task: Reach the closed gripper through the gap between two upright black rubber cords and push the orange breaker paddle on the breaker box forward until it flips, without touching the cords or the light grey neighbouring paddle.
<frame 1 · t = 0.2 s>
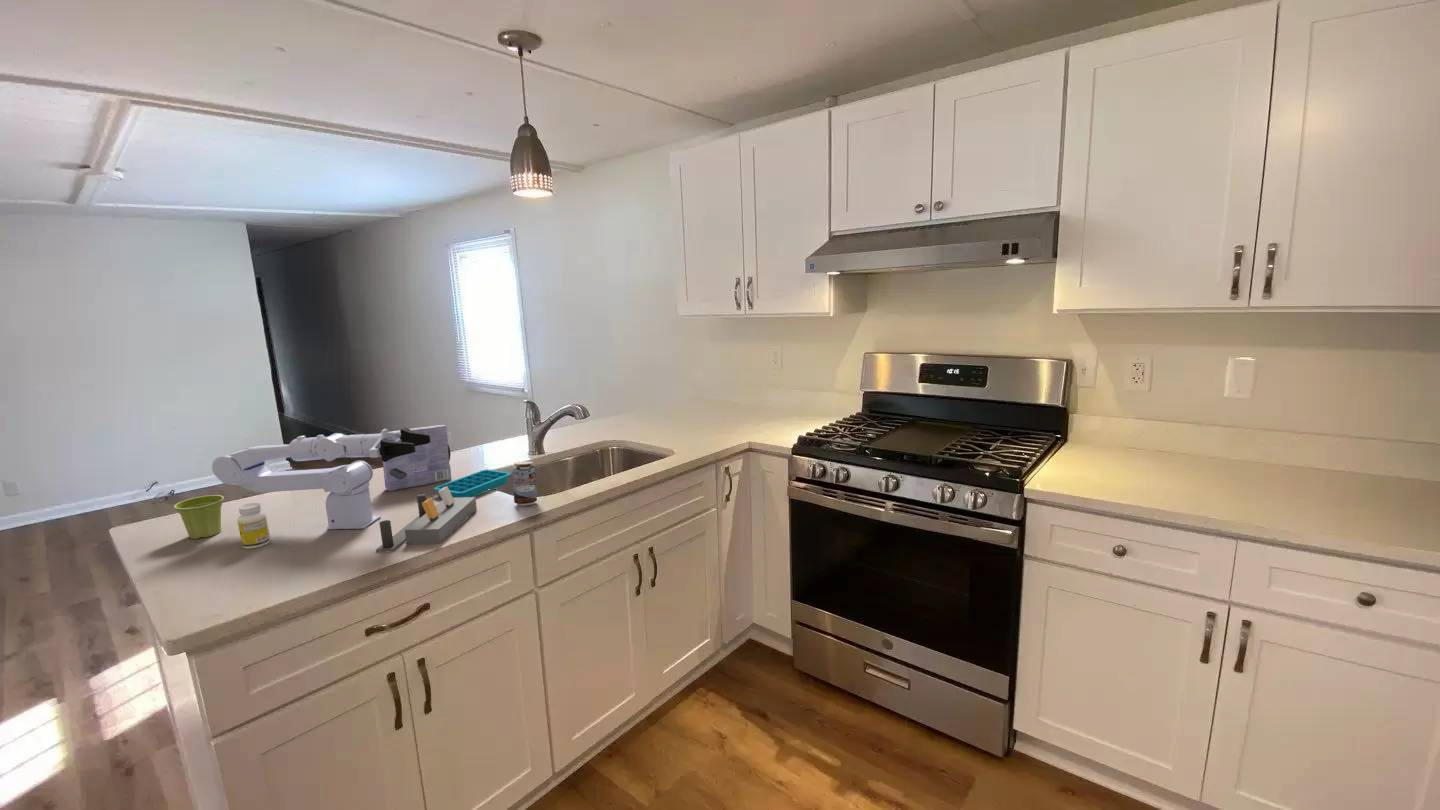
hand: (422, 443, 151), 21 cm above the countertop, tool horizontal, fingers open, 7 cm apart
cake pan box: (421, 484, 186), on the countertop
breaker box: (444, 525, 153), on the countertop
ice cube tray: (474, 490, 181), on the countertop
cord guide: (407, 533, 148), on the countertop
beverage can: (526, 504, 167), on the countertop
breaker paddle: (430, 509, 147), point 6 cm above the countertop, hinge at -18.0°
supplement bottle: (256, 545, 143), on the countertop
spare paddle: (446, 497, 156), point 6 cm above the countertop, hinge at -18.0°
plant pot: (205, 535, 150), on the countertop
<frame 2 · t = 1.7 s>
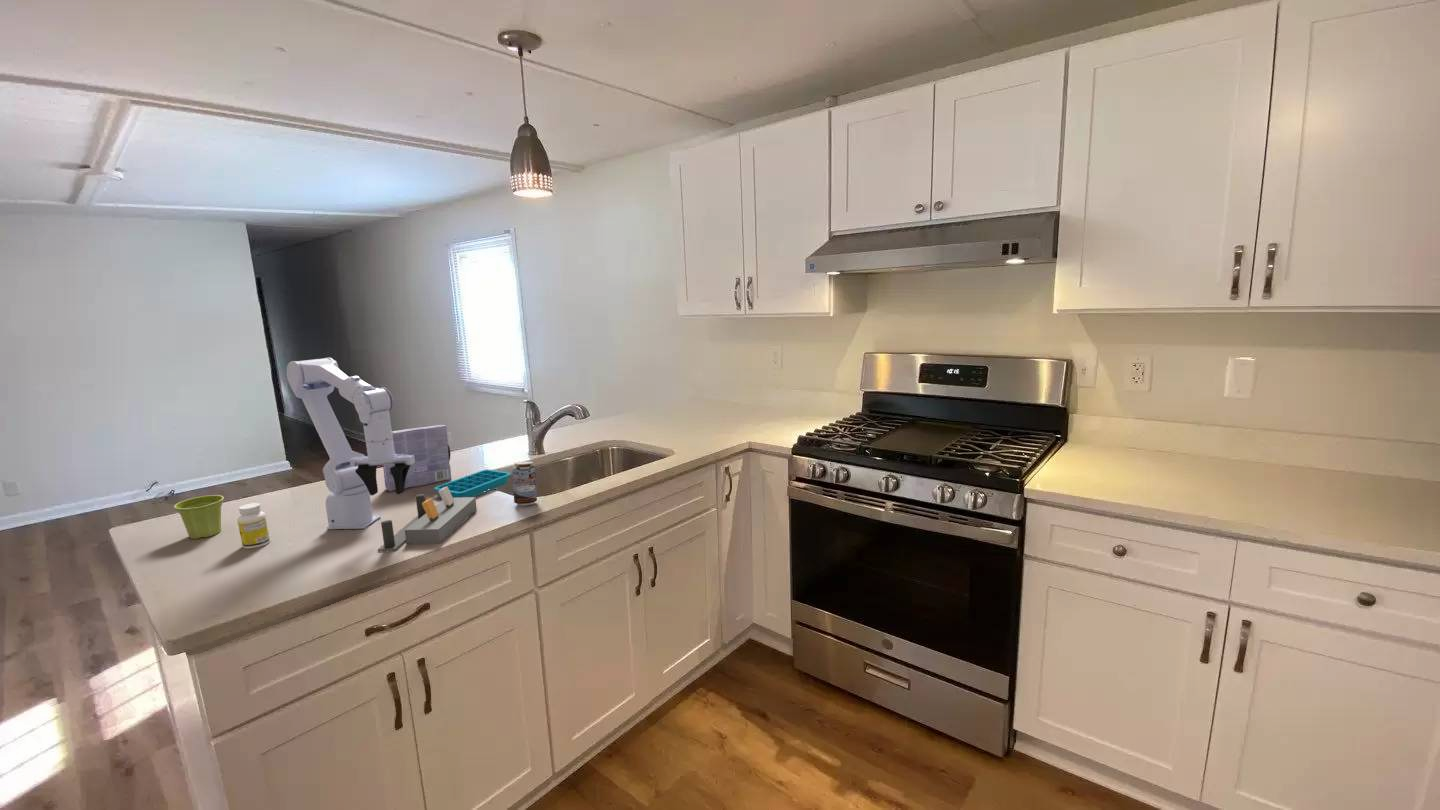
hand: (387, 493, 146), 10 cm above the countertop, tool pointing down, fingers open, 6 cm apart
nothing on the countertop moved.
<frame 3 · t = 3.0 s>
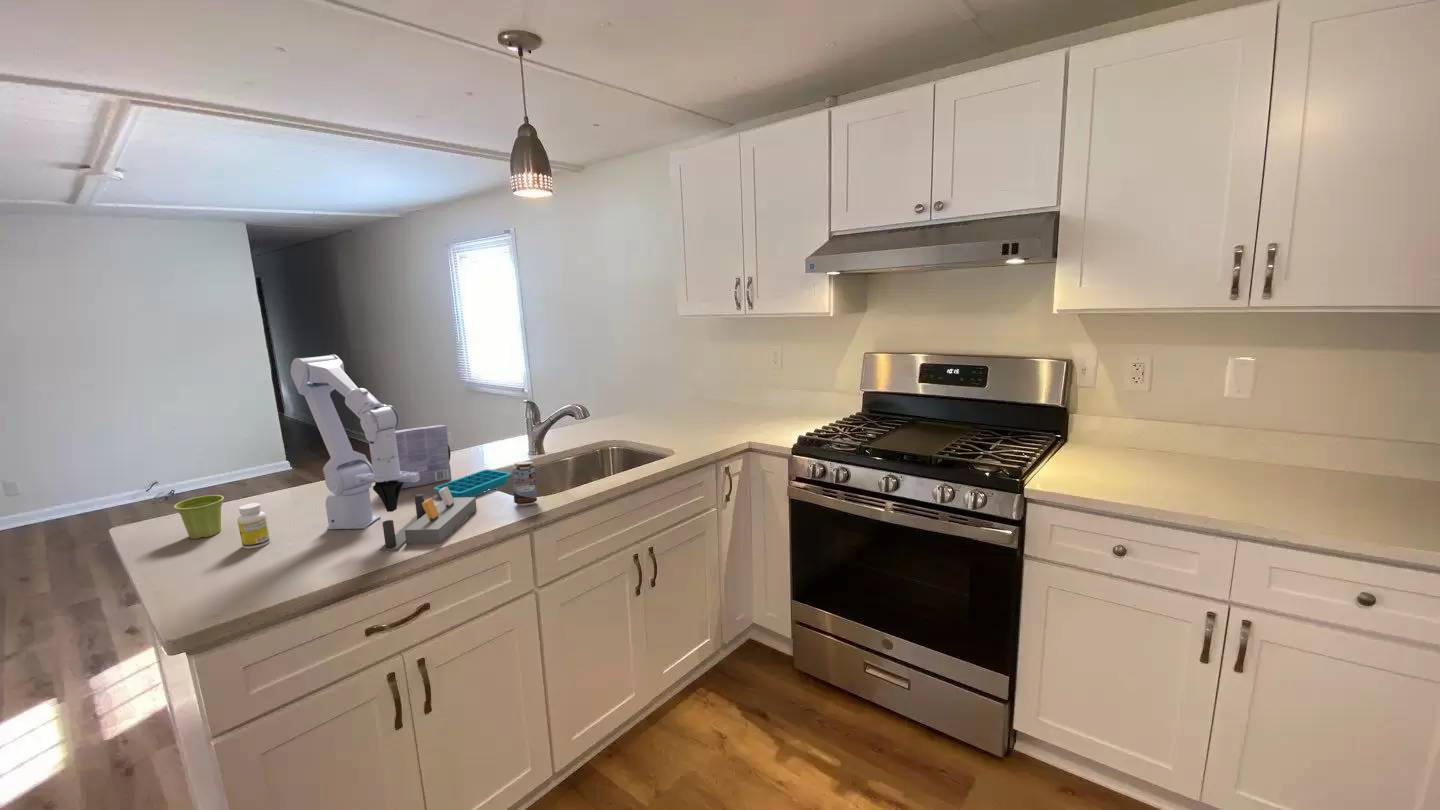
hand: (391, 510, 147), 6 cm above the countertop, tool pointing down, fingers closed
nothing on the countertop moved.
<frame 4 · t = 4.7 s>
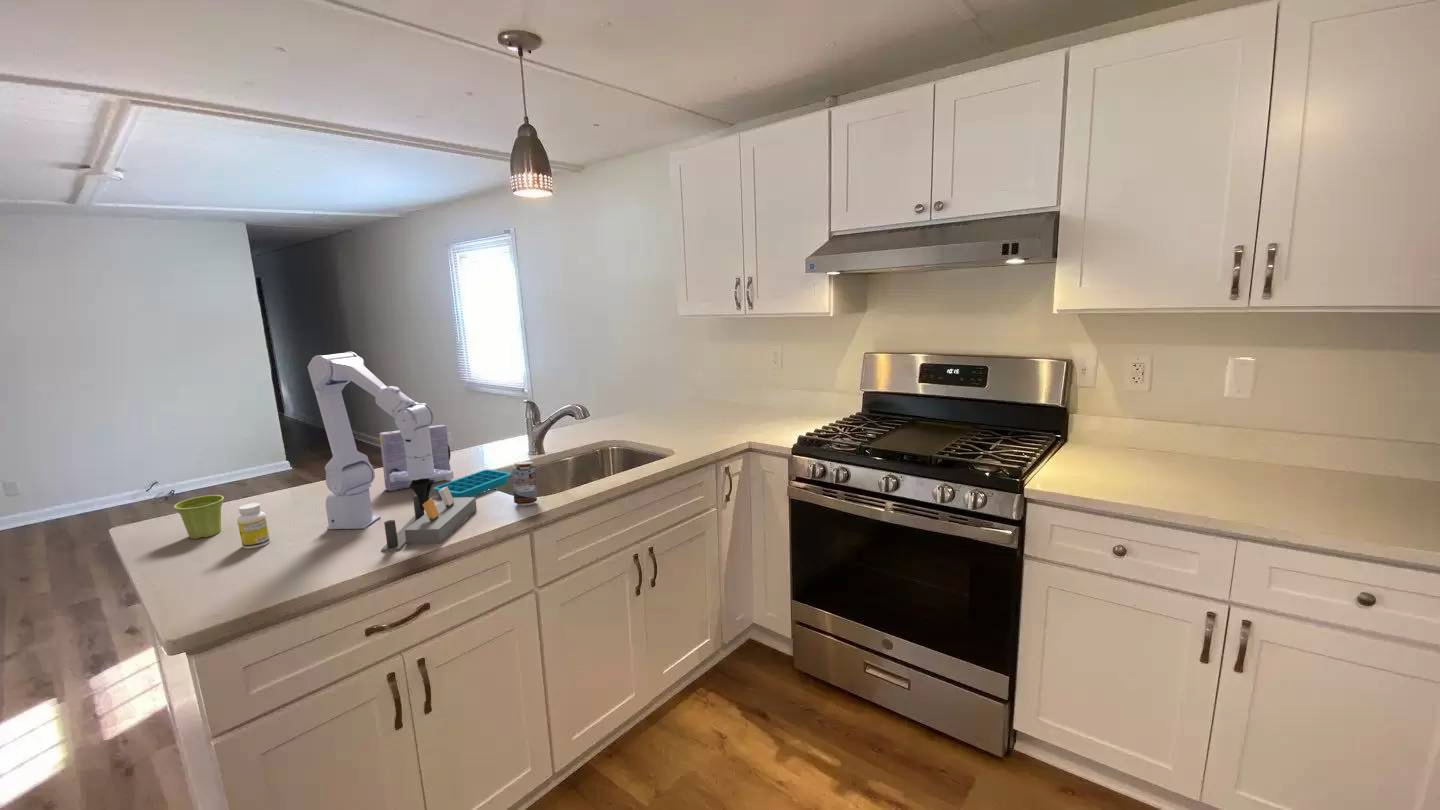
hand: (425, 508, 147), 6 cm above the countertop, tool pointing down, fingers closed, pressing on breaker paddle
breaker paddle: (430, 509, 147), point 6 cm above the countertop, hinge at -16.5°, touching gripper
everything else where it was.
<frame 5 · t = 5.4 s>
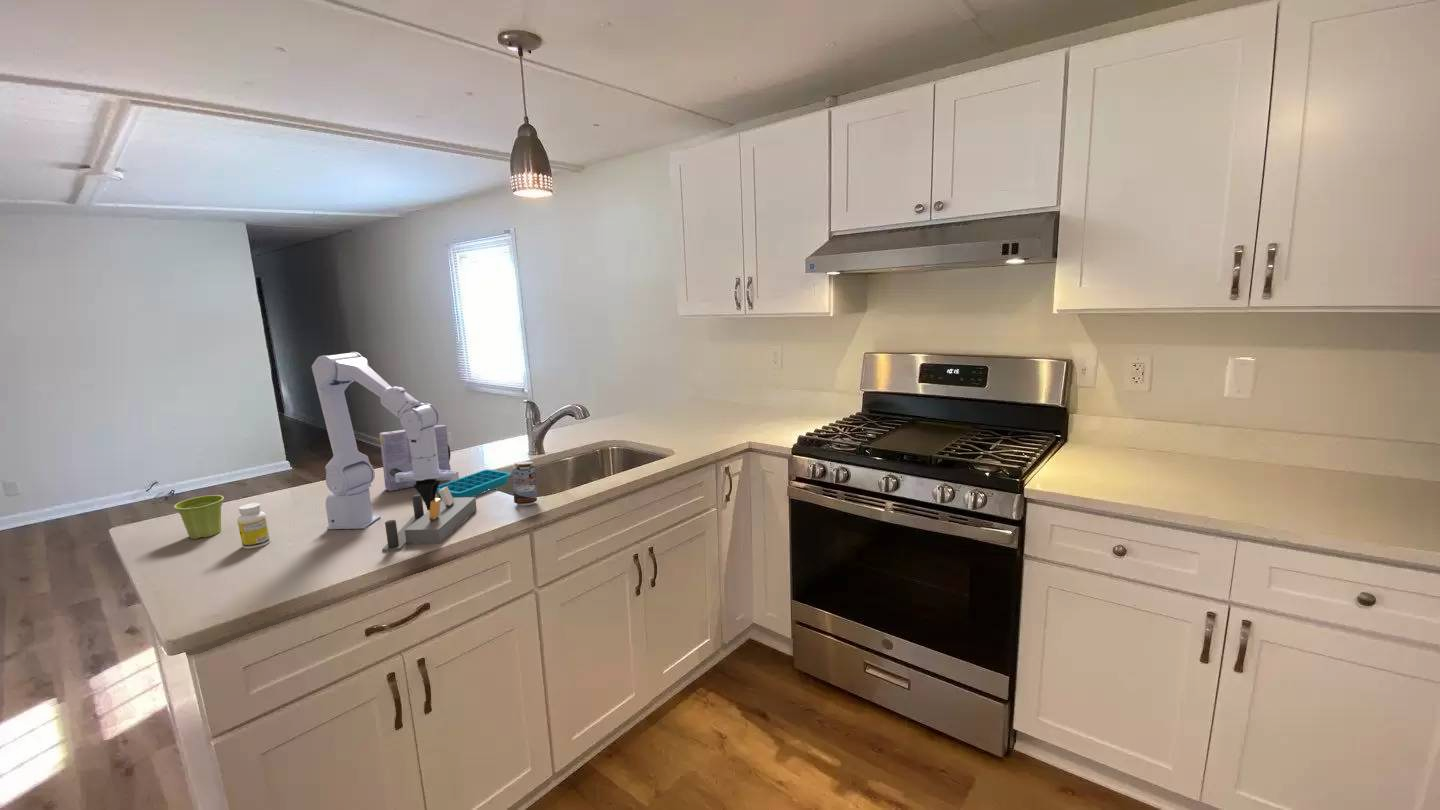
hand: (431, 508, 147), 6 cm above the countertop, tool pointing down, fingers closed, pressing on breaker paddle
breaker paddle: (434, 509, 147), point 6 cm above the countertop, hinge at 11.4°, touching gripper
everything else where it was.
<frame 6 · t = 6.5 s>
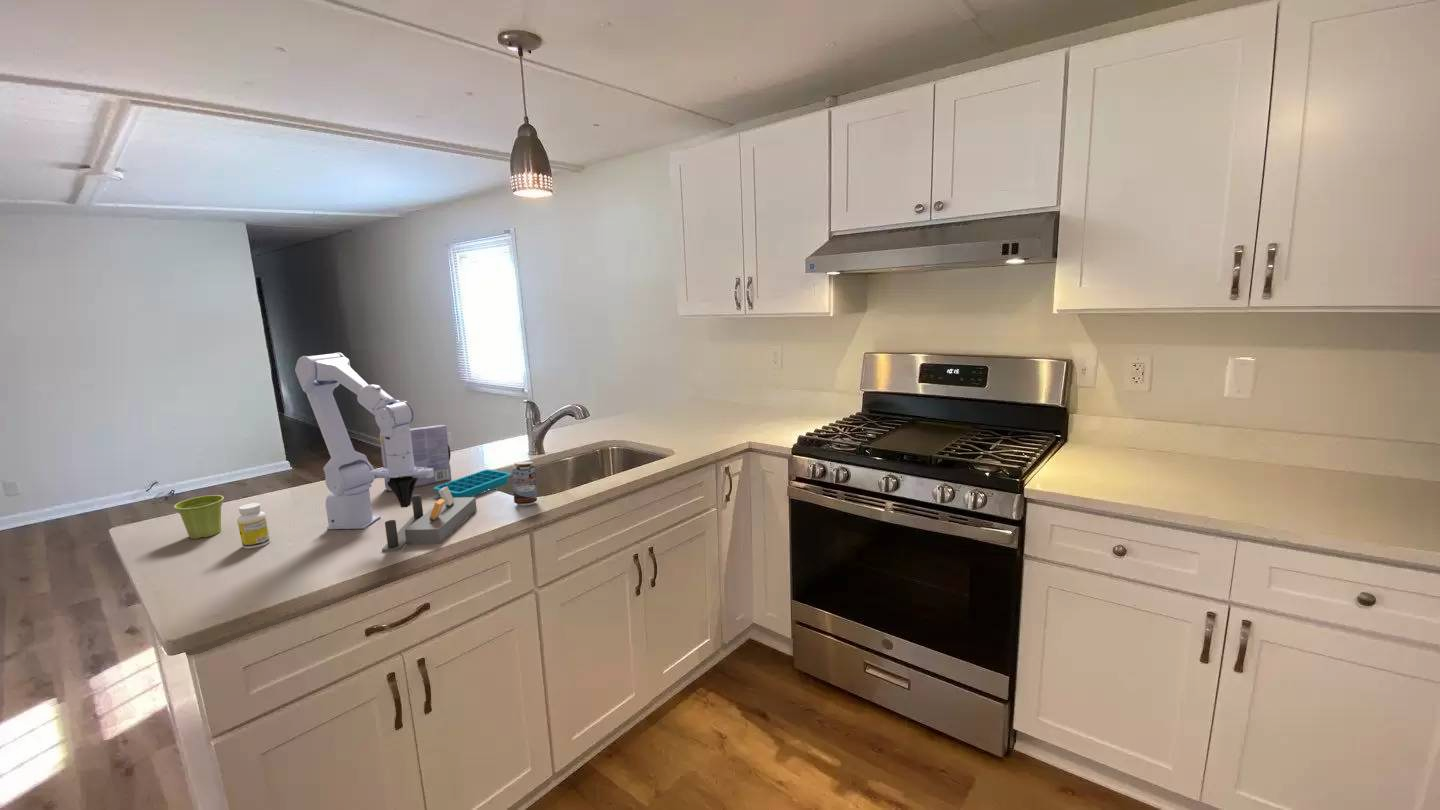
hand: (406, 506, 147), 7 cm above the countertop, tool pointing down, fingers closed
breaker paddle: (436, 510, 147), point 6 cm above the countertop, hinge at 25.8°
everything else where it was.
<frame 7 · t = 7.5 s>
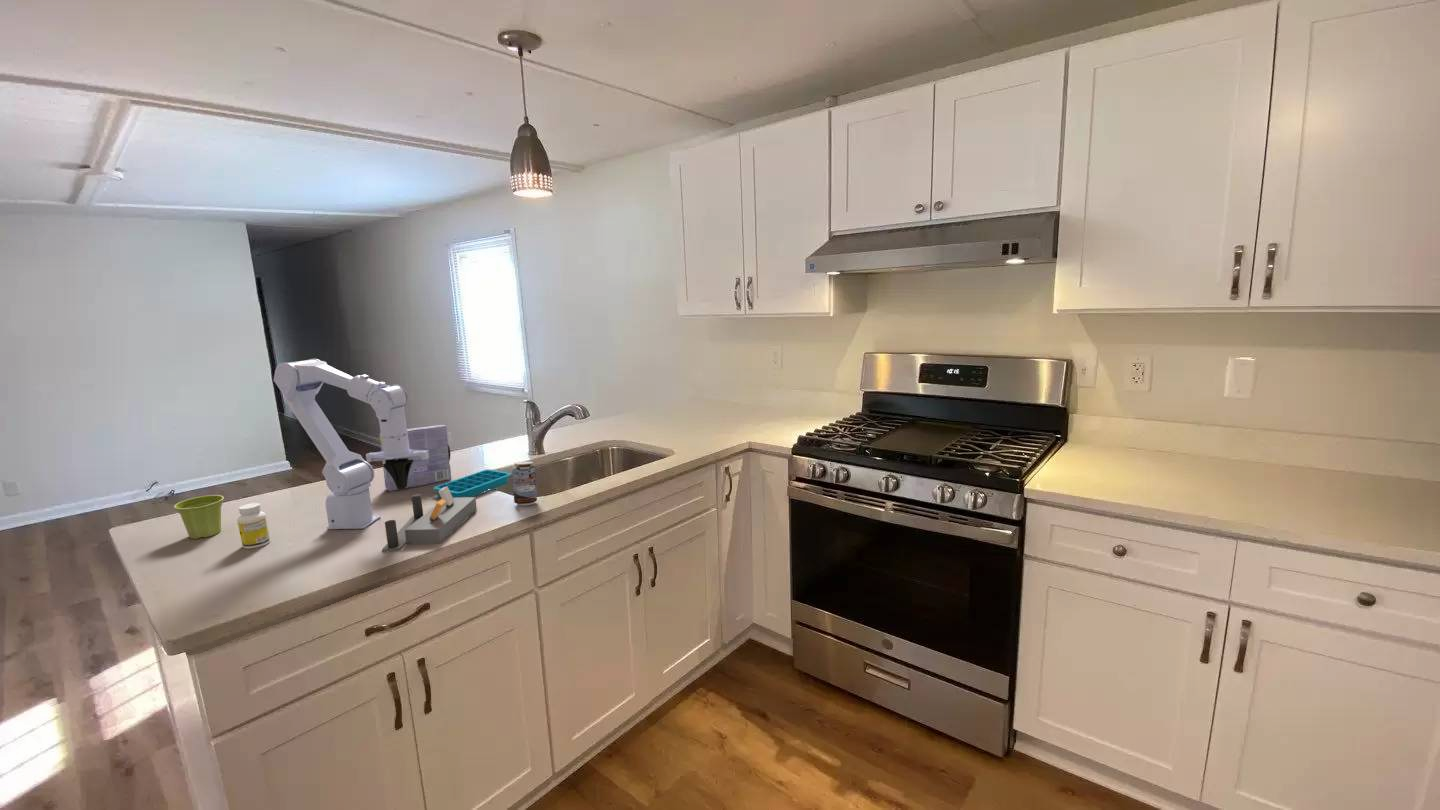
hand: (402, 487, 150), 10 cm above the countertop, tool pointing down, fingers closed
breaker paddle: (437, 510, 147), point 6 cm above the countertop, hinge at 30.4°
everything else where it was.
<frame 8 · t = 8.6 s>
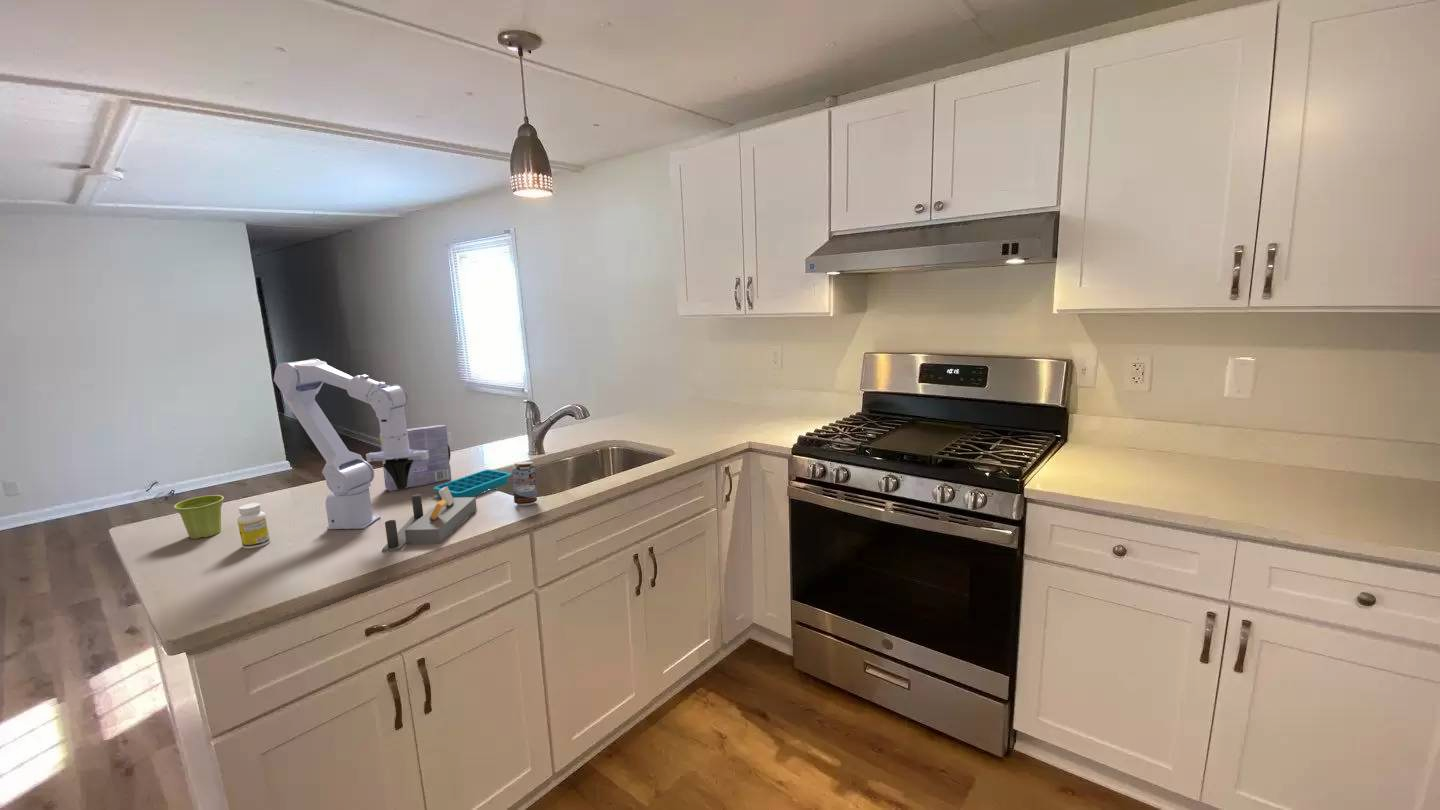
hand: (402, 487, 150), 10 cm above the countertop, tool pointing down, fingers closed
breaker paddle: (437, 510, 147), point 6 cm above the countertop, hinge at 32.5°
everything else where it was.
at the end: breaker paddle at +32° (first picture: -18°); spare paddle at -18° (first picture: -18°); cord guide moved 0.3 cm from its start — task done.
